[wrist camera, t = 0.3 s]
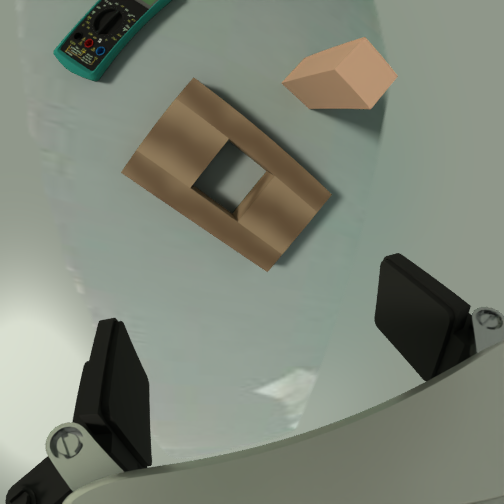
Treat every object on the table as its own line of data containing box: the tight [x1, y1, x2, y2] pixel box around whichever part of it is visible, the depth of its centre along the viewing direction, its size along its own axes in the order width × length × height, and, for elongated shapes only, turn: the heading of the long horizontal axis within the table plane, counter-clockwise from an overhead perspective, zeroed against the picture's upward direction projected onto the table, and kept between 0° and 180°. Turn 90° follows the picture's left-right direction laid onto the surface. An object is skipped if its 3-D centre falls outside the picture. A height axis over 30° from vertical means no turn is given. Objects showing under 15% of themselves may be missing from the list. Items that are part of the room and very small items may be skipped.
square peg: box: [282, 37, 398, 109], centre depth 30 cm, size 5×5×14 cm
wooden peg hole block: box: [121, 78, 332, 272], centre depth 37 cm, size 13×22×4 cm, turn 50°
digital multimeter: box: [54, 0, 172, 82], centre depth 26 cm, size 7×15×3 cm, turn 139°
